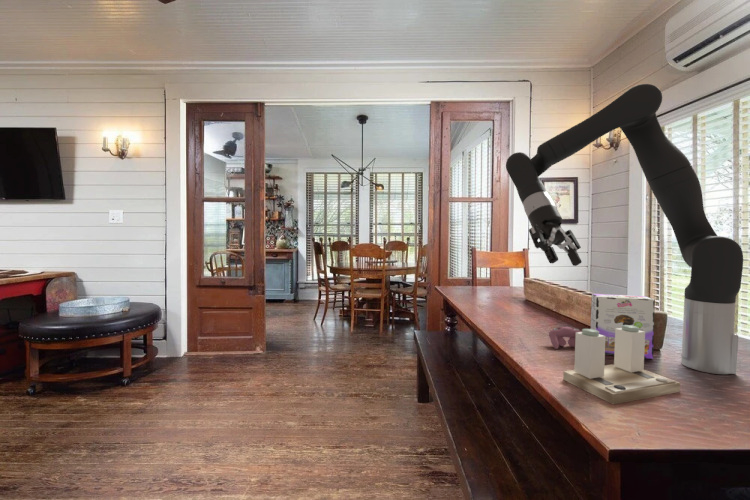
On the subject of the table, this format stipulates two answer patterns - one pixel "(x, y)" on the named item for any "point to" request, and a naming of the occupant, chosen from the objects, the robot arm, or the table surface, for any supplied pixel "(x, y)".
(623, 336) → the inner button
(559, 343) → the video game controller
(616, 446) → the table surface
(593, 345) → the white bottle with cap
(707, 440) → the table surface
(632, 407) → the table surface
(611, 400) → the switch board
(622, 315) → the candy box
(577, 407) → the table surface
